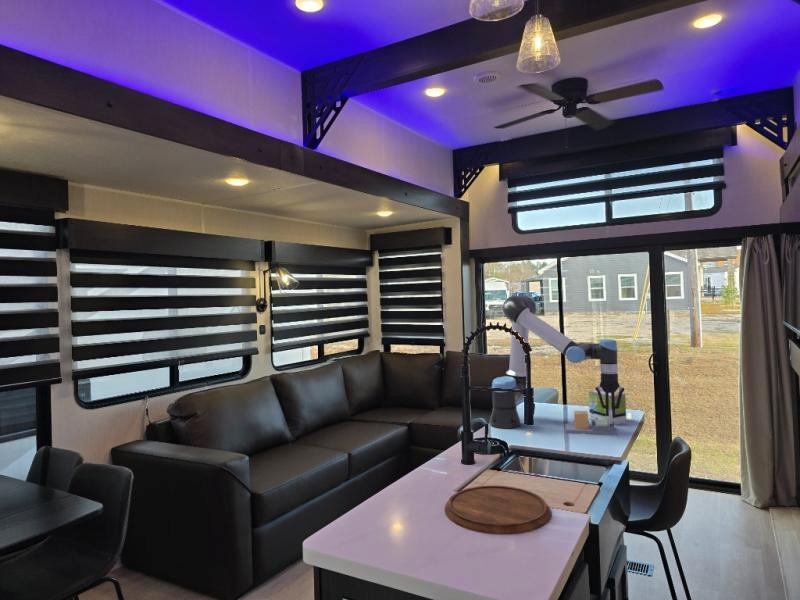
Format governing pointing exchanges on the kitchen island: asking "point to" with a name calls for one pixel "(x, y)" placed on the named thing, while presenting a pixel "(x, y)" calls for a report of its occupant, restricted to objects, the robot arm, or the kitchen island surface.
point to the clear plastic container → (592, 429)
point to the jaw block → (581, 419)
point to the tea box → (600, 412)
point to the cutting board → (497, 510)
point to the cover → (603, 422)
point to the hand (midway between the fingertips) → (610, 423)
